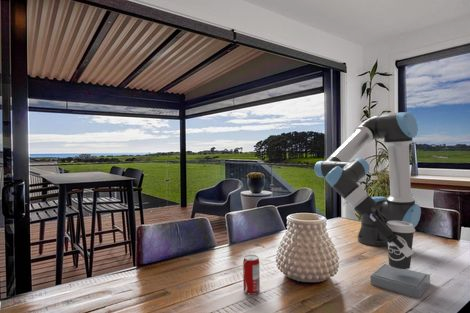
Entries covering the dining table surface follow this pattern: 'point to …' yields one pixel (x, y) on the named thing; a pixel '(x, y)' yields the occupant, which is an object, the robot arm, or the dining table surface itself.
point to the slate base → (401, 280)
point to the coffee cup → (406, 235)
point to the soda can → (251, 274)
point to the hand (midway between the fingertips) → (410, 250)
